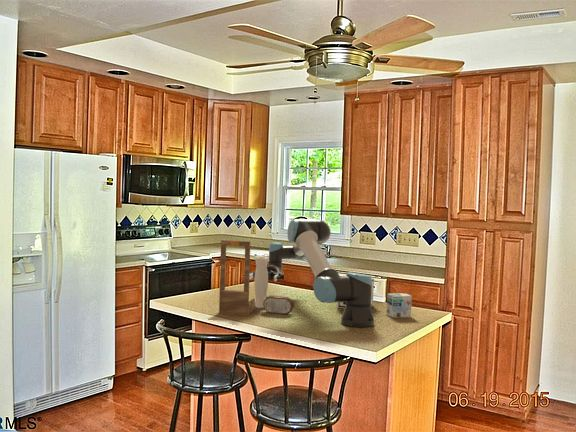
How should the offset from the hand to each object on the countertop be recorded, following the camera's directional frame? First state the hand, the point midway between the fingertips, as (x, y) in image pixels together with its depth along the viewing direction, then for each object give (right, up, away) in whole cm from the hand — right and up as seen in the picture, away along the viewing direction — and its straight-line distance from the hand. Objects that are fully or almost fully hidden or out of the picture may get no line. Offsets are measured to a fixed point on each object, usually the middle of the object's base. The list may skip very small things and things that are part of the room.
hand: (261, 278), depth 284 cm
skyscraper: (0, -15, -1) cm, 15 cm away
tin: (+9, -16, -14) cm, 23 cm away
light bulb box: (+68, -18, -11) cm, 71 cm away
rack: (-12, -15, -13) cm, 23 cm away
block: (+49, -16, +8) cm, 52 cm away
